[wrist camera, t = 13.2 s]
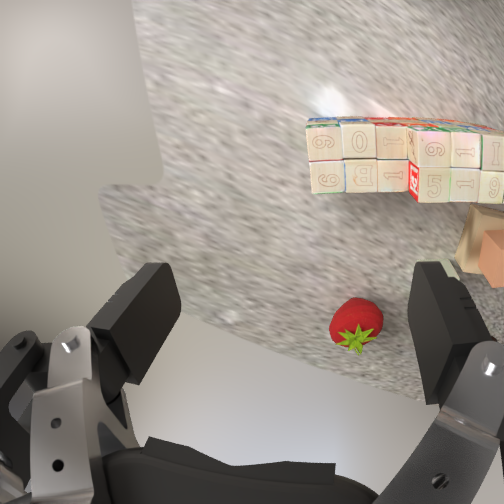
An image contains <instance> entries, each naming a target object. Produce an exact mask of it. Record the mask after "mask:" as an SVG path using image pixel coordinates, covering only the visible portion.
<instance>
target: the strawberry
mask: <svg viewBox="0 0 504 504" xmlns="http://www.w3.org/2000/svg"><path fill="white" fill-rule="evenodd" d="M382 326H383V314H382V312H381V311H380V310H379V308H378V307H377V306H376V305H375V304H374V303H373V302H370V301H368V300H365V299H361V298H351V299H350V300H349V301H347V302H346V303H344V304H343V305H342V306H341V307H340V308H339V309H338V310H337V311H336V313H335V314H334V316H333V319H332V321H331V324H330V326H329V331H330V335H331V338H332V340H333V341H334V342H335V343H336V344H335V345H341V346H344V347H349V349H348V351H350V350H352V349H355V347H356V349H357V350H358V351H359V353H360V354H361V353H362V348H363V345H364V344H366V343H368V342H370V341H371V340H373V339H376V338H377V337H376V336H377V335H378V334H379V333H380V331H381V329H382ZM356 349H355V351H356ZM356 353H357V354H358V352H357V351H356ZM358 356H359V354H358Z"/></svg>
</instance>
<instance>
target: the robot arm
mask: <svg viewBox="0 0 504 504" xmlns="http://www.w3.org/2000/svg"><path fill="white" fill-rule="evenodd" d="M180 312H181V299H180V296H179V293H178V289H177V286H176V283H175V279H174V276H173V272H172V269H171V267H170V265H169V264H168V263H146V264H145V265H144V266H143V267H142V268H141V269H140V270H139V271H138V272H137V273H136V275H135V276H134V277H132V278H131V279H129V280H128V281H126V282H125V283H123V284H122V286H121V287H120V288H119V289H118V290H117V291H116V292H115V295H112V297H111V298H110V299H109V300H108V302H106V303H105V305H104V306H103V307H102V308H101V309H100V310H99V312H98V313H97V314H96V315H95V316H94V317H93V319H92V320H91V321H90V322H89V323H88V325H87V326H86V327H83V326H75V327H71V328H68V329H67V330H64V331H63V332H61V333H60V334H59V335H58V336H57V337H56V338H55V339H54V341H53V343H41V342H40V341H39V339H38V337H37V336H36V334H35V333H34V332H33V331H24V332H21V333H19V334H17V335H16V336H14V337H13V338H12V339H11V340H10V341H9V342H8V343H7V344H6V346H5V347H4V348H3V349H2V350H1V352H0V504H471V502H472V501H473V499H474V497H475V495H476V493H477V492H478V490H479V488H480V486H481V484H482V482H483V480H484V478H485V476H486V474H487V472H488V470H489V468H490V466H491V464H492V461H493V459H494V457H495V455H496V452H497V450H498V447H499V445H500V451H501V459H502V467H503V477H504V345H503V344H501V343H499V342H495V341H493V340H492V338H491V335H490V333H489V331H488V329H487V327H486V325H485V323H484V321H483V319H482V317H481V315H480V313H479V311H478V309H476V305H475V303H474V301H473V299H472V300H471V295H470V294H469V292H468V290H467V288H466V286H465V285H464V284H462V283H461V282H460V281H459V280H458V279H456V278H455V277H448V275H447V273H446V271H445V269H444V268H443V266H442V264H441V262H440V261H418V262H416V264H415V267H414V273H413V279H412V285H411V291H410V296H409V302H408V322H409V326H410V330H411V334H412V338H413V342H414V346H415V350H416V355H417V359H418V364H419V369H420V374H421V379H422V384H423V389H424V395H425V400H426V405H430V404H439V407H440V411H439V413H438V415H437V417H436V418H435V420H434V421H433V423H432V425H431V426H430V428H429V429H428V431H427V432H426V434H425V435H424V437H423V439H422V440H421V442H420V443H419V445H418V446H417V448H416V449H415V450H414V452H413V453H412V454H411V456H410V457H409V459H408V460H407V461H406V463H405V464H404V465H403V467H402V468H401V469H400V471H399V472H398V473H397V475H396V476H395V477H394V478H393V480H392V481H391V482H390V483H389V485H388V486H387V487H386V488H385V490H384V491H383V492H382V493H381V494H380V495H378V494H377V493H375V492H374V491H373V490H371V489H370V488H368V487H366V486H365V485H363V484H361V483H359V482H357V481H355V480H352V479H349V478H346V477H343V476H339V475H335V465H336V463H307V462H290V461H283V462H275V463H266V464H256V465H245V466H231V465H228V464H225V463H223V462H221V461H218V460H216V459H214V458H212V457H209V456H207V455H205V454H203V453H200V452H199V451H197V450H195V449H193V448H191V447H189V446H184V445H180V444H175V443H172V442H168V441H164V440H160V439H156V438H153V437H149V438H148V440H147V442H146V444H145V446H144V447H140V446H139V444H138V442H137V440H136V437H135V434H134V431H133V426H132V422H131V418H130V413H129V408H128V403H127V399H126V394H125V391H124V389H123V388H122V386H123V385H124V383H125V382H128V383H132V384H136V385H140V383H141V381H142V379H143V378H144V376H145V374H146V372H147V371H148V369H149V367H150V365H151V364H152V362H153V360H154V359H155V357H156V355H157V353H158V352H159V350H160V348H161V347H162V345H163V343H164V341H165V340H166V338H167V336H168V335H169V333H170V331H171V330H172V328H173V326H174V324H175V323H176V321H177V319H178V318H179V316H180ZM23 381H25V382H26V383H27V385H28V386H29V387H30V388H31V390H32V391H33V392H34V395H33V398H32V400H31V401H30V403H29V405H28V406H27V408H26V409H25V411H24V412H23V414H22V415H21V417H20V419H19V420H18V421H16V420H15V419H14V418H13V417H12V416H11V414H10V413H9V408H8V406H9V402H10V400H11V398H12V397H13V395H14V394H15V392H16V391H17V390H18V388H19V387H20V385H21V384H22V383H23ZM30 478H31V488H32V492H30V493H27V492H26V491H24V490H25V488H26V486H27V484H28V482H29V480H30Z"/></svg>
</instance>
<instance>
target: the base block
mask: <svg viewBox="0 0 504 504" xmlns="http://www.w3.org/2000/svg"><path fill="white" fill-rule="evenodd" d="M486 230H504V212H502V211H498V210H495V209H491V208H487V207H482V206H478V205H474V204H470V208H469V212H468V215H467V219H466V223H465V226H464V229H463V233H462V236H461V239H460V242H459V245H458V248H457V251H456V254H455V257H454V258H455V259H456V261H457V263H458V264H459V266H460V267H461V269H462V271H463V272H468V273H475V274H482V275H484V274H483V273H482V271H481V270H480V268H479V267H478V263H479V258H480V252H481V246H482V240H483V234H484V231H486Z"/></svg>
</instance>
